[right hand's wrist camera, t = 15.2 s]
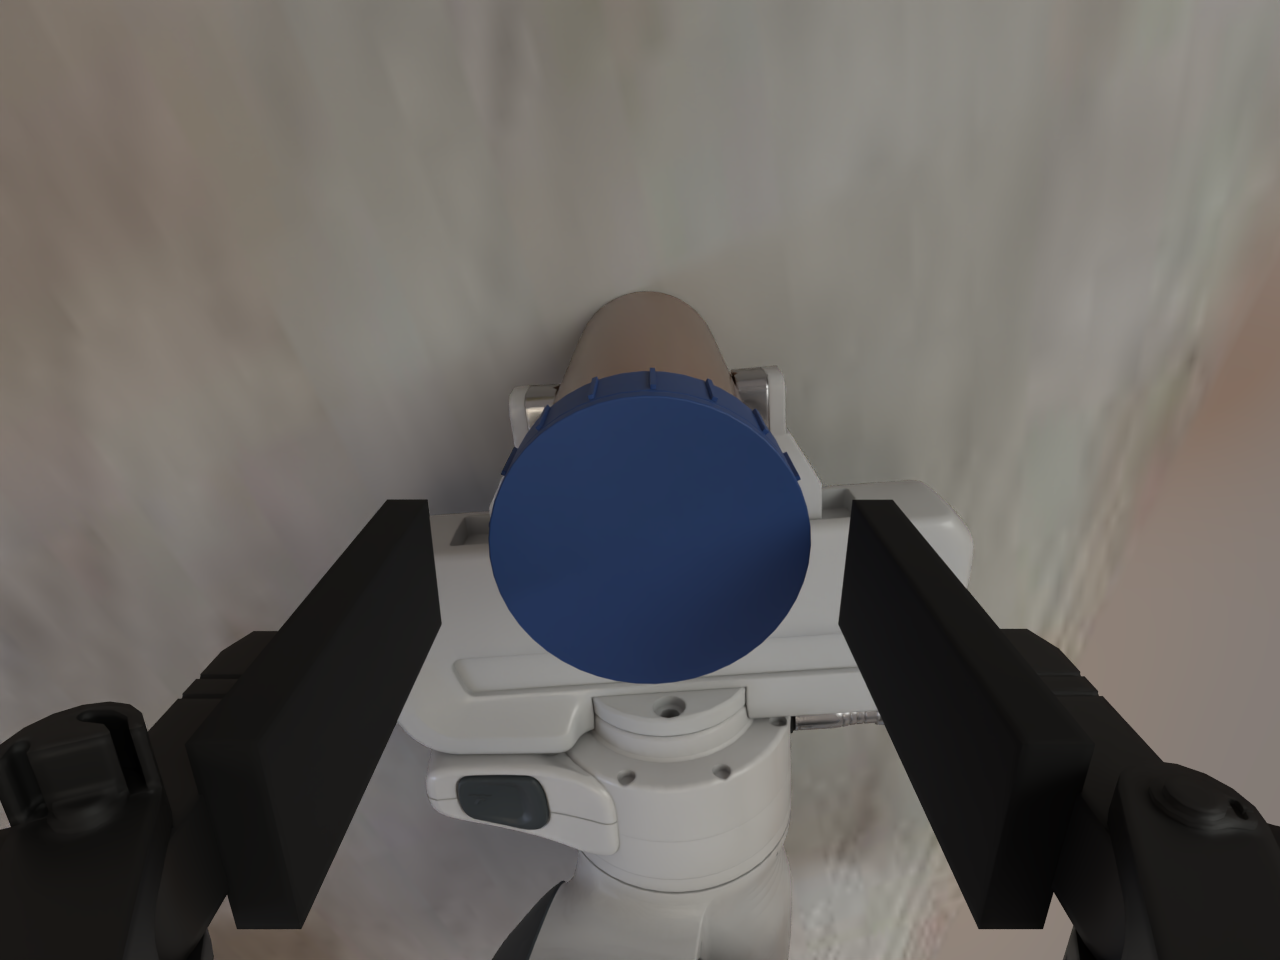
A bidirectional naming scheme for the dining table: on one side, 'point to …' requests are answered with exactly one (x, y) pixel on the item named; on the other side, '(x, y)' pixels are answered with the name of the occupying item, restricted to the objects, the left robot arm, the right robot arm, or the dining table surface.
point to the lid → (649, 529)
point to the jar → (646, 343)
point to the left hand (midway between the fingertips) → (643, 379)
